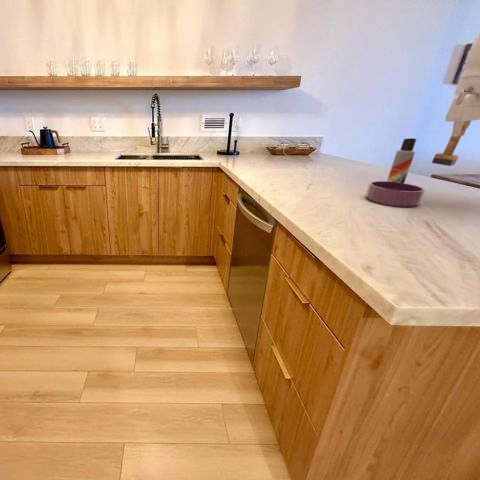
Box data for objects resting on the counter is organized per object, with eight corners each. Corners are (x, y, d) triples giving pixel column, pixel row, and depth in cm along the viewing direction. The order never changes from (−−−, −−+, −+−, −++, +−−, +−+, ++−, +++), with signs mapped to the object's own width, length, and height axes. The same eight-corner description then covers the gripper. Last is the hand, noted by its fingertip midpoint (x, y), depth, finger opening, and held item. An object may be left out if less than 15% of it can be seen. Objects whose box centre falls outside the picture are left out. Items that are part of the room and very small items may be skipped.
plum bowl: (426, 203, 101) (432, 188, 99) (406, 210, 94) (412, 194, 91) (377, 193, 113) (382, 179, 111) (357, 199, 106) (361, 184, 103)
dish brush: (454, 164, 96) (475, 123, 90) (450, 166, 94) (471, 123, 88) (436, 161, 100) (454, 121, 94) (431, 162, 98) (450, 122, 92)
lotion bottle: (388, 190, 117) (405, 138, 109) (382, 186, 122) (398, 137, 114) (404, 190, 116) (423, 138, 108) (397, 187, 121) (415, 137, 113)
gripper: (478, 86, 80) (458, 138, 86) (500, 88, 89) (481, 134, 95) (449, 88, 85) (431, 137, 91) (472, 89, 94) (455, 134, 100)
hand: (457, 136), depth 93 cm, fingers closed on dish brush, 2 cm apart
